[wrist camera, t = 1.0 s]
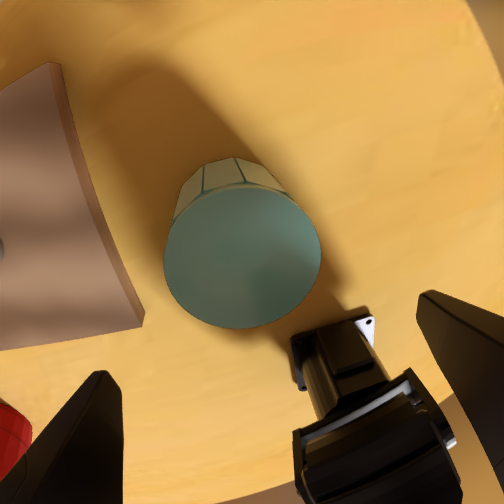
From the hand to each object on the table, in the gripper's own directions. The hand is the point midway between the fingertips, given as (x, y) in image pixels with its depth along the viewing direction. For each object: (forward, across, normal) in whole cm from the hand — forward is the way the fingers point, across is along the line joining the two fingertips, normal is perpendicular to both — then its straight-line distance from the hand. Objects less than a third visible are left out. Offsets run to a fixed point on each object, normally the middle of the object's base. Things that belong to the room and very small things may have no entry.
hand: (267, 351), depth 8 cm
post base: (+10, +15, -3) cm, 19 cm away
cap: (+10, 0, 0) cm, 11 cm away
